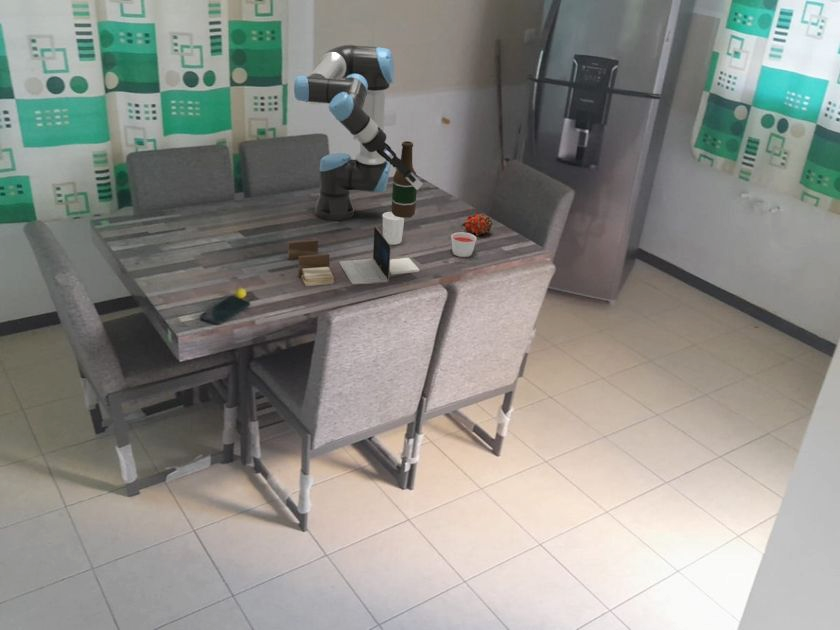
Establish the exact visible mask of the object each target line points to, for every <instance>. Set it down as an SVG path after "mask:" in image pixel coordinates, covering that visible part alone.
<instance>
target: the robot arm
mask: <svg viewBox="0 0 840 630" xmlns="http://www.w3.org/2000/svg"><path fill="white" fill-rule="evenodd" d="M394 80H395V62H394V56H393V53H392V51H391V50H390V49H389V48H385V47H379V46H367V45H366V46H365V45H352V44H345V45H340V46H337V47H336V46H335V47H333V48H331V49H329V50H328V51H326V52H325V53H324V54H322V55H321V57H320V59H319V61H318V65H317V66H316V67H315V68H314V69H313V71H312V72H311V73H310V75H308V76H307V75H298V76H296V78H295V80H294V85H293V92H294V93H293V94H294V98H295V99H296V100H297V101H302V102H305V103H316V104H317V103H319V104H329V105H328V109H329V112H330V113H331V114H332V116H333V117H334V118H335V119H336V120H337V121H338V122H339V123H340V124H341V125H342V126H343V127H345V129H346V130H347V131H348V132H349V134H351V135H353V137H352V138H353V140H354V141H355V140H357V141H358V142H359V153H358V154H356V155H355V159H352V156H351V155H350V154H349V153H345V152H337V153H335V152H334V153H330V154H327V155H324V156H323V157H322V158H321V159H320V162H319V195H318V197H317V200H316V204H315V206H314V214H315V216H316V217H317V218H319V219H322V220H323V219H324V220H328V221H344V220H348V219H351V218H352V217H353V216H354V214H355V208H354V205H353V201H352V199H351V198H352V197H351V194H350V193H351V191H355V192H367V193H377V194H378V193H379V194H380V193H384V192H385V191H386V189H387V185H388V182H389V176H390V171H391V166H392V167H393V168H395V171H396V170H397V169H398V170H399V171H400V172H401V173H402V174H403V177H402V178H403V179H404V178H406V179H407V180H408V181H409V182H410V183H411V184H412V185H413V186H414V188H415V189H416V190H417V191H418V190H419V189H420V188H421V187H422V186H423V185H424V183H423V182H422V181H421V180H420V179H419V178H418V176H417V177H416V176H415V175H414V174H413V173H412V172H411V170H409V169H408V168H407V167H406V166H405V165H404V164H403V162H402V161H401V158H399V157H398V156H397V154H396V153H395V151H394V150H392V147H391V146H390V145H389V144H387V143H386V140H387V134H386V133H385V132H384V131H385V129H384V127H385V124H384V123H385V105H386V104H385V102H386V101H385V99H386V97H385V95H386V91H388V89H389V88H390V85H391V84H393V83H394Z"/></svg>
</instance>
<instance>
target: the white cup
mask: <svg viewBox="0 0 840 630" xmlns="http://www.w3.org/2000/svg"><path fill="white" fill-rule="evenodd" d="M404 223H405V218H401V217H396V216H394V215H393V214H392V211H387V212H384V213H382V235H383V237H384V238H385V239H386V241H387V242H388V243H389V245H390V246H391V245H393V246H394V245H395V246H396V245H399V244H402V243H401V242H402V241H403V232H404Z"/></svg>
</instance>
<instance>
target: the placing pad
mask: <svg viewBox="0 0 840 630" xmlns="http://www.w3.org/2000/svg"><path fill="white" fill-rule="evenodd" d="M419 272H420V269H419V267H418V266H417V265H416V264H415V263H414V262H413V261H412V260H411V258H409V257H404V258H403V257H401V258H392V259H391V258H390V272H389V275H401V274H410V273H419Z"/></svg>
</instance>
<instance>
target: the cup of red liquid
mask: <svg viewBox="0 0 840 630" xmlns="http://www.w3.org/2000/svg"><path fill="white" fill-rule="evenodd" d="M450 238H451V248H452V249H451V250H452V254H453V255H454V256H457V257H460V258H466V257H467V258H469V257H470V256H472V255H473V252H474V248H475V246H476V242H477V236H476V235H474V233H473V234H471V233H468V232H465V231H464V232H463V231H462V232H461V231H459V232H455V233H452V234H451V236H450Z"/></svg>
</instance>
